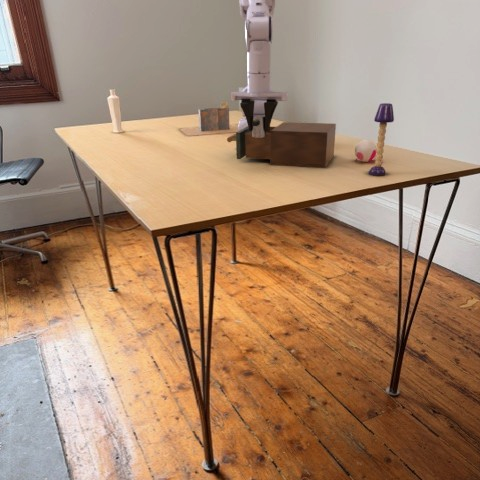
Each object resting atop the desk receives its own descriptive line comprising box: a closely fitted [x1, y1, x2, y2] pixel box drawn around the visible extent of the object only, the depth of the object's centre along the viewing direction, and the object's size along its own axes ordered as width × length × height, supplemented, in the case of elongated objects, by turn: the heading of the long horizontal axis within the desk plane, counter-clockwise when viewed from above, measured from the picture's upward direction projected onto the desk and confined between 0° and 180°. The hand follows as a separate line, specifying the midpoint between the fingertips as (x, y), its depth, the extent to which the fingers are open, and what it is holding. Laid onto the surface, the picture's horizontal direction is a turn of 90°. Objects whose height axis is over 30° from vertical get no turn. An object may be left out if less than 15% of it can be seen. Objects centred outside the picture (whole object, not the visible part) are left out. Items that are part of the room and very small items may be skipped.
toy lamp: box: [368, 102, 395, 176], centre depth 121 cm, size 5×5×17 cm
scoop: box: [252, 115, 266, 138], centre depth 126 cm, size 6×4×5 cm, turn 162°
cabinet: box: [269, 121, 337, 168], centre depth 138 cm, size 16×15×9 cm
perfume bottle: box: [106, 88, 124, 134], centre depth 185 cm, size 5×4×15 cm
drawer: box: [226, 126, 276, 160], centre depth 142 cm, size 19×13×7 cm
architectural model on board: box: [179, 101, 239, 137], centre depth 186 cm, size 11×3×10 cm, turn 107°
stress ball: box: [354, 139, 377, 163], centre depth 136 cm, size 8×8×7 cm
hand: (259, 130), depth 128 cm, fingers closed on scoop, 4 cm apart
